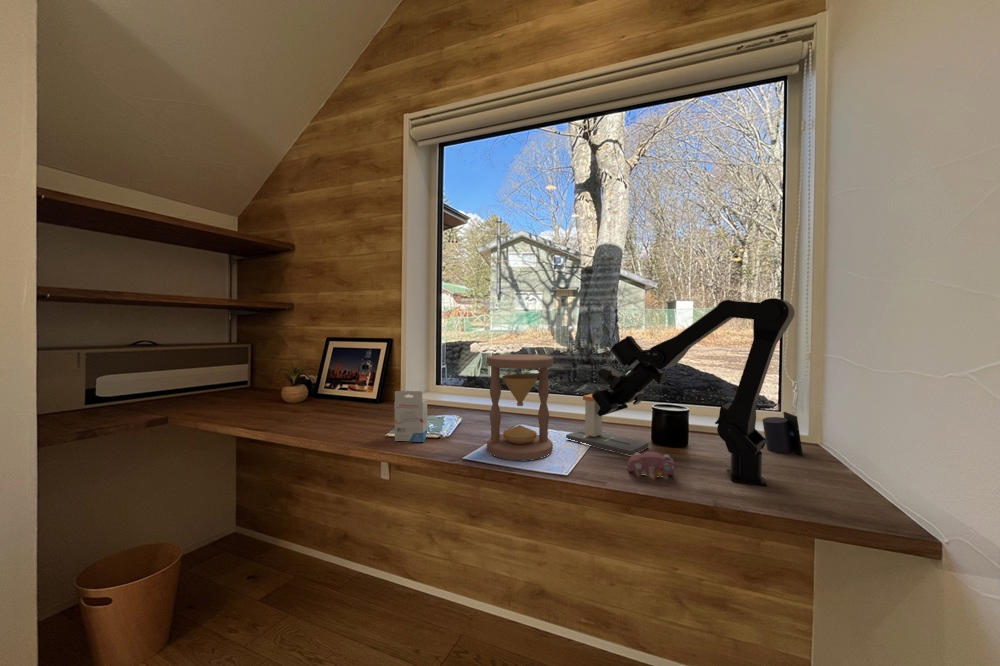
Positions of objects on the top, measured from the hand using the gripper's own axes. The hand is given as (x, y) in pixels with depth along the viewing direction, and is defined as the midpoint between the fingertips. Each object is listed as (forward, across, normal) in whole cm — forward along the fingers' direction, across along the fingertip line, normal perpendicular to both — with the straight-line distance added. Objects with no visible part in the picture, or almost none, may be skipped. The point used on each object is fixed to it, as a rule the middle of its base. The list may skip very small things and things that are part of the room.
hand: (599, 414), depth 109 cm
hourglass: (+14, +21, -2) cm, 25 cm away
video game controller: (-9, +13, +21) cm, 26 cm away
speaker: (-21, -27, +32) cm, 47 cm away
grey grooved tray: (+4, 0, +7) cm, 8 cm away
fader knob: (+5, 0, +3) cm, 6 cm away
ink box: (+34, +37, -22) cm, 55 cm away
